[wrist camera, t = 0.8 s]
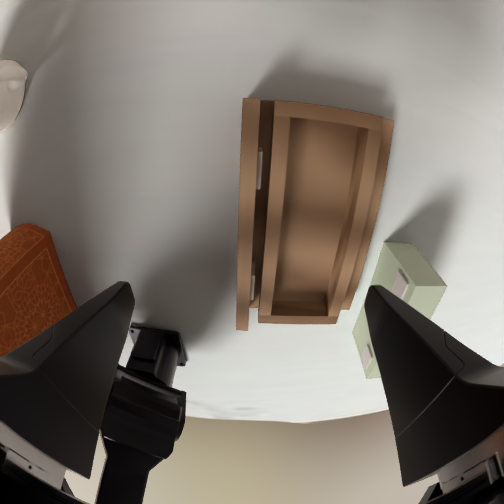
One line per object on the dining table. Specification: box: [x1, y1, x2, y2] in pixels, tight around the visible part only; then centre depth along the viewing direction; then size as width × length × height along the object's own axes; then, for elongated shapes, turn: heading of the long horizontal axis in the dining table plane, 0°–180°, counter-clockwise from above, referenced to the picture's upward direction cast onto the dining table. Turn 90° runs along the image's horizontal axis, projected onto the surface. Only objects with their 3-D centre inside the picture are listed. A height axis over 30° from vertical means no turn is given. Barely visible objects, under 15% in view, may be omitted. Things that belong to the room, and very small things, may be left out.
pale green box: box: [352, 242, 447, 379], centre depth 23 cm, size 12×4×7 cm, turn 177°
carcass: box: [236, 98, 394, 331], centre depth 20 cm, size 18×11×4 cm, turn 177°
